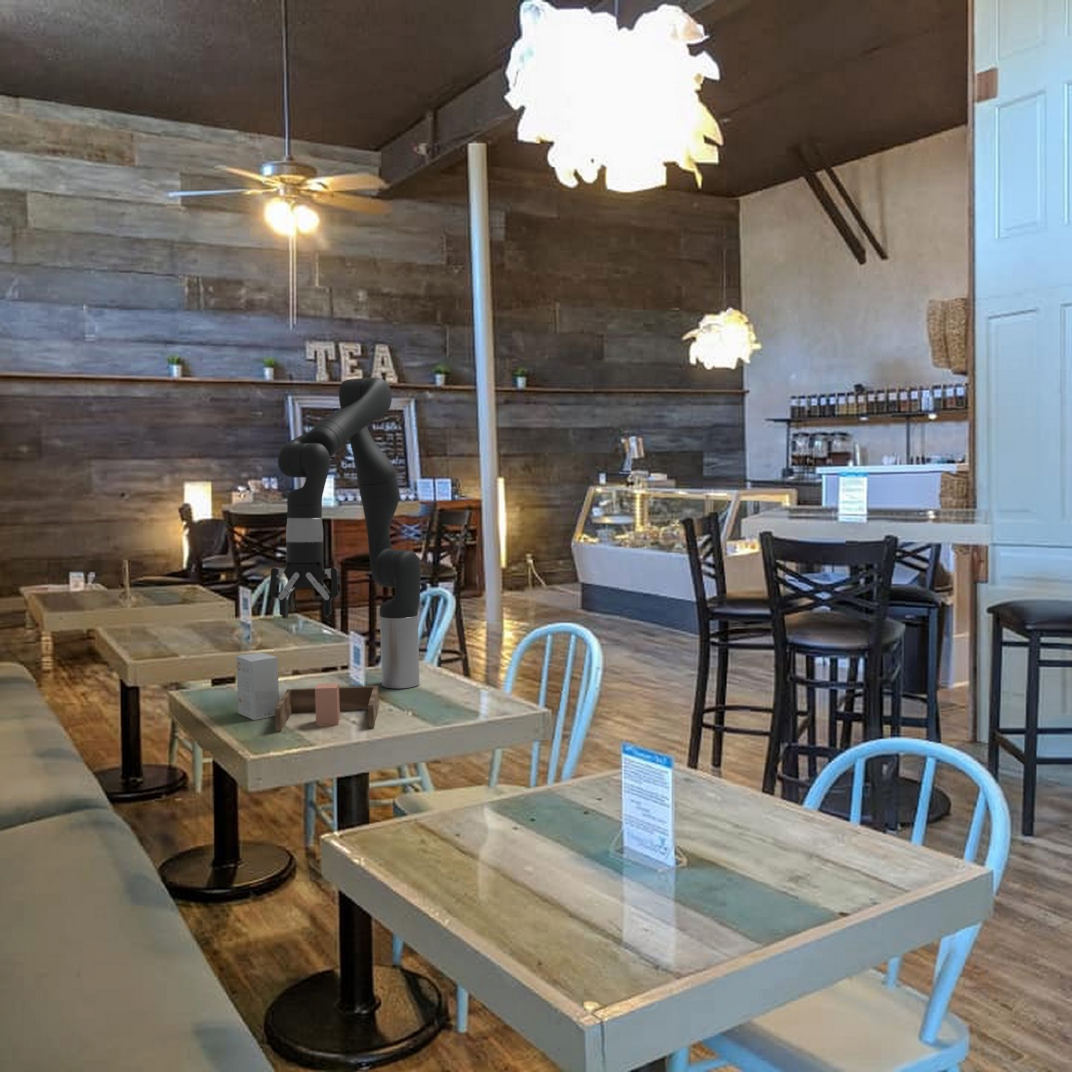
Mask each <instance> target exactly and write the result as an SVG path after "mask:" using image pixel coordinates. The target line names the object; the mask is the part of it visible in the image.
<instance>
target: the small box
mask: <svg viewBox="0 0 1072 1072" xmlns="http://www.w3.org/2000/svg"><path fill="white" fill-rule="evenodd" d="M235 659H236V660H235V661H236V685H237V689H236V690H237V709H238V710H237V712H238V713H237V714H239V715H241V716H243V717H246V718H248V719H251V720H252V721H257V720H261V719H266V718H272V717H275V708H276V706H277V704H278V703H279V701H280V695H279V694H280V691H279V690H280V689H279V665H278V664H279V663H278V661H279V660H278V657H277V656H274V655H271V654H267V653H264V652H257V653H255V652H254V653H248V654H247V653H246V654H241V655H236V657H235Z"/></svg>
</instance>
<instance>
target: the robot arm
mask: <svg viewBox="0 0 1072 1072" xmlns="http://www.w3.org/2000/svg"><path fill="white" fill-rule="evenodd" d="M392 397H393V395H392V391H391V387H390V385H389V384H388V382H387V380H385V379H384V378H381V377H374V376H373V377H362V378H352V379H344V381H342V382H341V384H340V386H339V389H338V402H339V407H340V409H339V410H336V411H334V412H333V413H332V412H331V414H328V415H326V416H325V417H324V418H322V419H321V420H320V421H319V422H318V423H317V424H316V425H314V426H313V427H312V428H311V429H310V430H309V431H308V432H306V433H303V434H301V435H299V436H297V437H295V438H294V439H291V440H289V441H288V442H287V443H286V444H285V445H283V447H282V448H281V449H280V451H279V453H278V456H277V466H278V469H279V471H280V472H281V473H282V474H283V475H284V476H286V477H288V478H305V482H304V484H303V485H302V486H301V487H300V488H296V489H292V490H290V491H288V493H287V498H286V505H287V507H286V509H287V511H286V512H287V519H286V528H285V540H286V541H285V543H286V544H285V545H286V546H285V549H286V550H285V551H286V553H285V554H286V566H285V568H279V567H273V568H271V570H270V580H269V581H270V583H269V595H270V597H272V598H276V599H278V601H279V603H278V605H279V608H278V609H279V610H278V611H279V615H280V616H281V617H282V619H288V618H289V599H288V597H289V596H290V594H291V593H292V591H294V589H296V590H298V589H299V590H300V589H307V590H312V589H314V588H315V590H316V591H317V592H318V593H319V594H320V595H321V596H322V598H323V600H322V618H323V619H328V618H329V616H331V614H332V613H333V610H332V607H333V606H332V603H333V601H332V600H333V599H334V598H336V597H339V596H341V593H342V591H341V581H340V569H339V568H338V567H337V566H336V567H333V568H325V564H324V525H323V518H322V517H323V508H322V507H323V505H322V504H323V503H322V501H323V496H324V495H323V494H324V491H325V486H326V483H327V479H328V475H329V472H330V467H331V457H333V456H334V455H335V454H336V453H337V452H338V451H339V450H340V449H341V448H342V447H343V446H344V444H345V443H347V441H349V444H350V446H351V447H350V448H351V452H352V457H353V462H354V466H355V467H354V468H355V472H356V479H357V485H358V490H359V494H360V500H361V504H362V509H363V514H364V521H365V526H366V533H367V543H368V554H369V555H368V556H369V563H370V564H369V565H370V571H371V575H372V579H373V581H374V582H375V583H376V584H377V585H378V586H380V587H384V588H394V589H395V591H394V597H393V598H392V599H390V600H387V601H385V602H383V603H381V604H380V606H379V630H380V632H379V633H380V634H379V635H380V666H381V668H380V669H381V670H380V671H381V673H380V674H381V686H382V687H384V688H387V689H408V688H413V687H416V686H419V685H420V647H419V646H420V644H419V642H420V641H419V639H420V638H419V612H418V611H419V606H420V601H421V578H422V577H421V575H422V573H421V571H422V569H421V563H420V562H421V561H420V558H419V556H418V554H417V553H416V552H414V551H413V550H406V549H393V546H392V542H391V541H392V540H391V524H392V522H393V519H394V515H395V513H396V510H397V508H398V505H399V502H400V488H399V484H398V477H397V471H396V469H395V467H394V465H393V462H391V460H390V459H389V458H388V456H387V455H386V454H385V453H384V451H382V449H381V448H380V447H379V445H378V444H377V443H376V442H375V440H374V439H373V437H372V435H371V433H370V430H369V428H368V426H369V425H370V424H372V423H373V422H375V421H376V420H378V419H380V418H382V417H383V416H385V415H386V414H387V413H388V412H389V410H390V408H391V405H392ZM283 575H285V577H286V578H287V579H288V582H287V583H286V584H285V586H284V587H283V589H282V591H280V580H281V579H282V578H283ZM325 575H327V577H328V578H327V579H330V580H331V581H330V582H331V584H330V585H331V592H330V590H329V588H328V587H327V585H326V584H325V583H324V581H323V578H324V577H325Z"/></svg>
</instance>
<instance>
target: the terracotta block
mask: <svg viewBox="0 0 1072 1072" xmlns="http://www.w3.org/2000/svg"><path fill="white" fill-rule="evenodd" d="M339 687H340V683H339V682H334V683H333V682H331V683H317V684H316V685H315V687H314V688H315V704H316V711H315V726H316V725H329V726H339V724H338V723H340V721H341V713H340V712H341V710H340V704H339ZM339 720H340V721H339Z"/></svg>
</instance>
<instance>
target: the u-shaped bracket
mask: <svg viewBox="0 0 1072 1072" xmlns="http://www.w3.org/2000/svg"><path fill="white" fill-rule="evenodd" d="M315 688H316V687H311V688H309V687H307V688H287V689H286V691H285V692H284V694H283V695H282V696H281V698H280V699H279V703H278V704H277V706H276V708H275V716H274V717H275V718H274V719H275V732H276V733H281V732H282V731H283V729H284V727H285V725H286V724H287V722H288V720H289V718H290V716H291V715H292V713H307V712H309V711H310V712H316V704H315ZM339 704H340V711H353V710H352V709H364V710H368V729H374V728H375V725H376V722H375V721H377V716H378V712H379V709H380V700H379V685H369V686H368V685H363V686H339ZM290 714H291V715H290ZM286 721H287V722H286ZM282 728H283V729H282Z"/></svg>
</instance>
